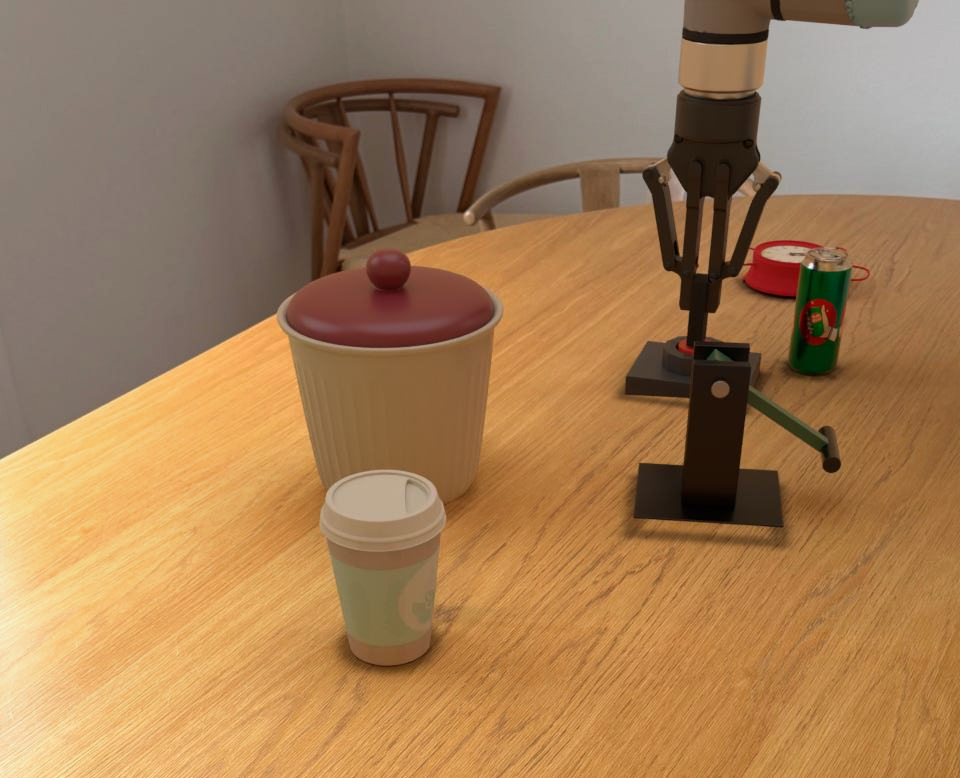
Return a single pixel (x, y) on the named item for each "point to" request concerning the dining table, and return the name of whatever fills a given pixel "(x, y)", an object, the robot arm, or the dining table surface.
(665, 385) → the button box
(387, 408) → the canister
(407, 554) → the coffee cup
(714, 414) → the bracket
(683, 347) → the button
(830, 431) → the lever
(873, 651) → the dining table surface
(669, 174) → the robot arm
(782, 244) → the alarm clock
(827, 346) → the soda can
